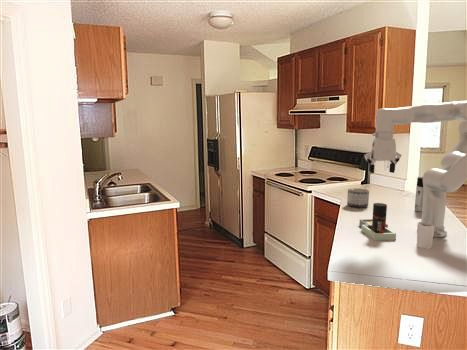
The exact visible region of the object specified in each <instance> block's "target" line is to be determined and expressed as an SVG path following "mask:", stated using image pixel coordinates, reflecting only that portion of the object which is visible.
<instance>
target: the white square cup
mask: <svg viewBox="0 0 467 350" xmlns="http://www.w3.org/2000/svg"><path fill="white" fill-rule="evenodd" d="M416 226H417V227H416V228H417V229H416V246H417V247H419V248H422V249H432V246H433V241H434V237H433V235H434V228H435V225H434V224H433V223H429V222H421V221H418V222H417V225H416Z"/></svg>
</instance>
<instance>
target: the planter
mask: <svg viewBox="0 0 467 350" xmlns="http://www.w3.org/2000/svg"><path fill="white" fill-rule="evenodd" d="M369 197H370V190H369V189H366V188H359V187H353V188H348V189H347V202H346V203H347V205H348V206H349V207H352V208H357V209H358V208H359V209H362V208H366V207H368V206H369V199H370V198H369Z"/></svg>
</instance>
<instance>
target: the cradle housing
mask: <svg viewBox="0 0 467 350" xmlns="http://www.w3.org/2000/svg"><path fill="white" fill-rule="evenodd" d="M372 219H373V218H372ZM372 219H371V218H370V219H369V218H367V219H359V224H358V225H359V226H360V227H361V228H362V225H369V224H368V223H366V222H365V221H372ZM370 226H372V225H370ZM368 228H369V226H368ZM386 228H388V229H389V224H388V223H386ZM369 229H372V228H371V227H370V228H369Z"/></svg>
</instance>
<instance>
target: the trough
mask: <svg viewBox="0 0 467 350" xmlns="http://www.w3.org/2000/svg"><path fill="white" fill-rule="evenodd" d="M368 226H369V228H370V227H371V228H372V226H370V225H362V227H361V232H363V233H364V234H365V235H366V236H368V237H369V238H371V239H373V240H374V241H392V240H393V241H395V240H397V233H396V232H394V230H391V229H389V227H388V228H386V227H385V233H375V232H374V231H372V229H369V228H368Z"/></svg>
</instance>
